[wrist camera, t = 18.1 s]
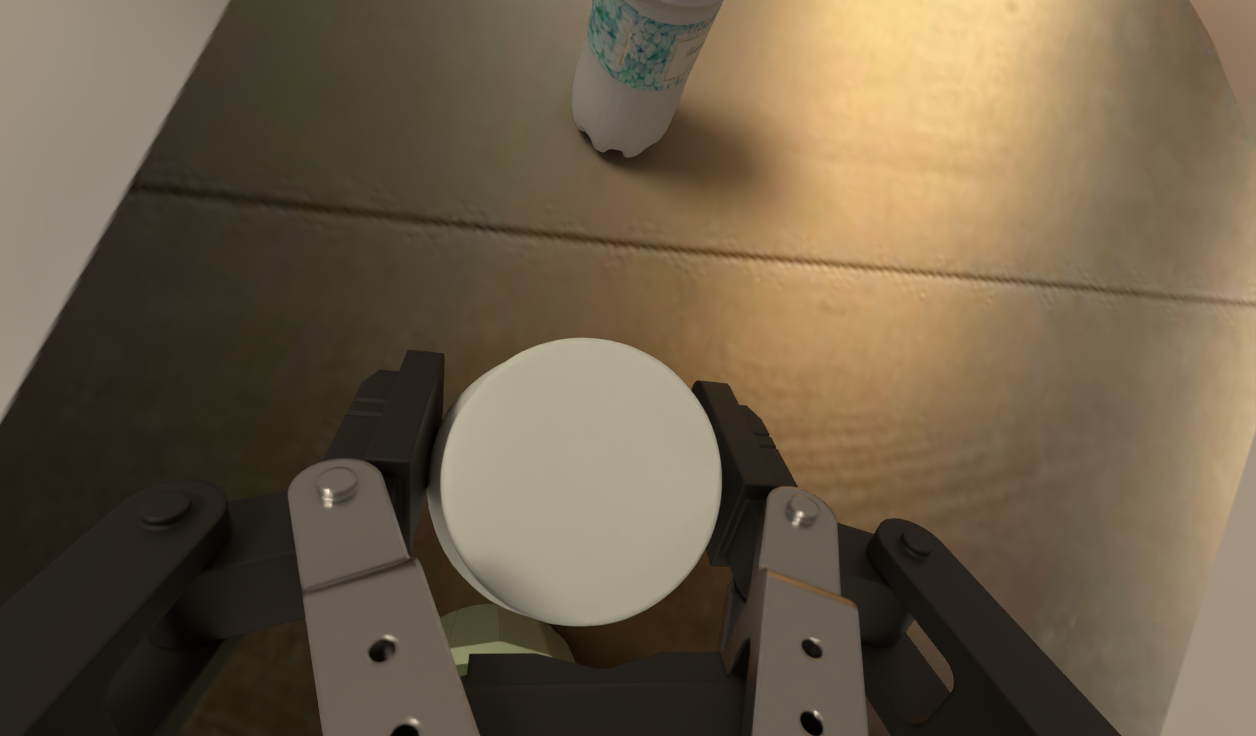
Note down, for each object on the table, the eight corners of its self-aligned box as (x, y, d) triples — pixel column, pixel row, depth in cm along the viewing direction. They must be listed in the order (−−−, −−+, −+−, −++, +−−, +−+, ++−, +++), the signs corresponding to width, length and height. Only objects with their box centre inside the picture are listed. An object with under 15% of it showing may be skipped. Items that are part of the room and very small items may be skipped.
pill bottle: (596, 380, 20) (692, 272, 10) (647, 540, 19) (801, 582, 9) (431, 426, 18) (364, 348, 9) (478, 604, 17) (462, 732, 8)
